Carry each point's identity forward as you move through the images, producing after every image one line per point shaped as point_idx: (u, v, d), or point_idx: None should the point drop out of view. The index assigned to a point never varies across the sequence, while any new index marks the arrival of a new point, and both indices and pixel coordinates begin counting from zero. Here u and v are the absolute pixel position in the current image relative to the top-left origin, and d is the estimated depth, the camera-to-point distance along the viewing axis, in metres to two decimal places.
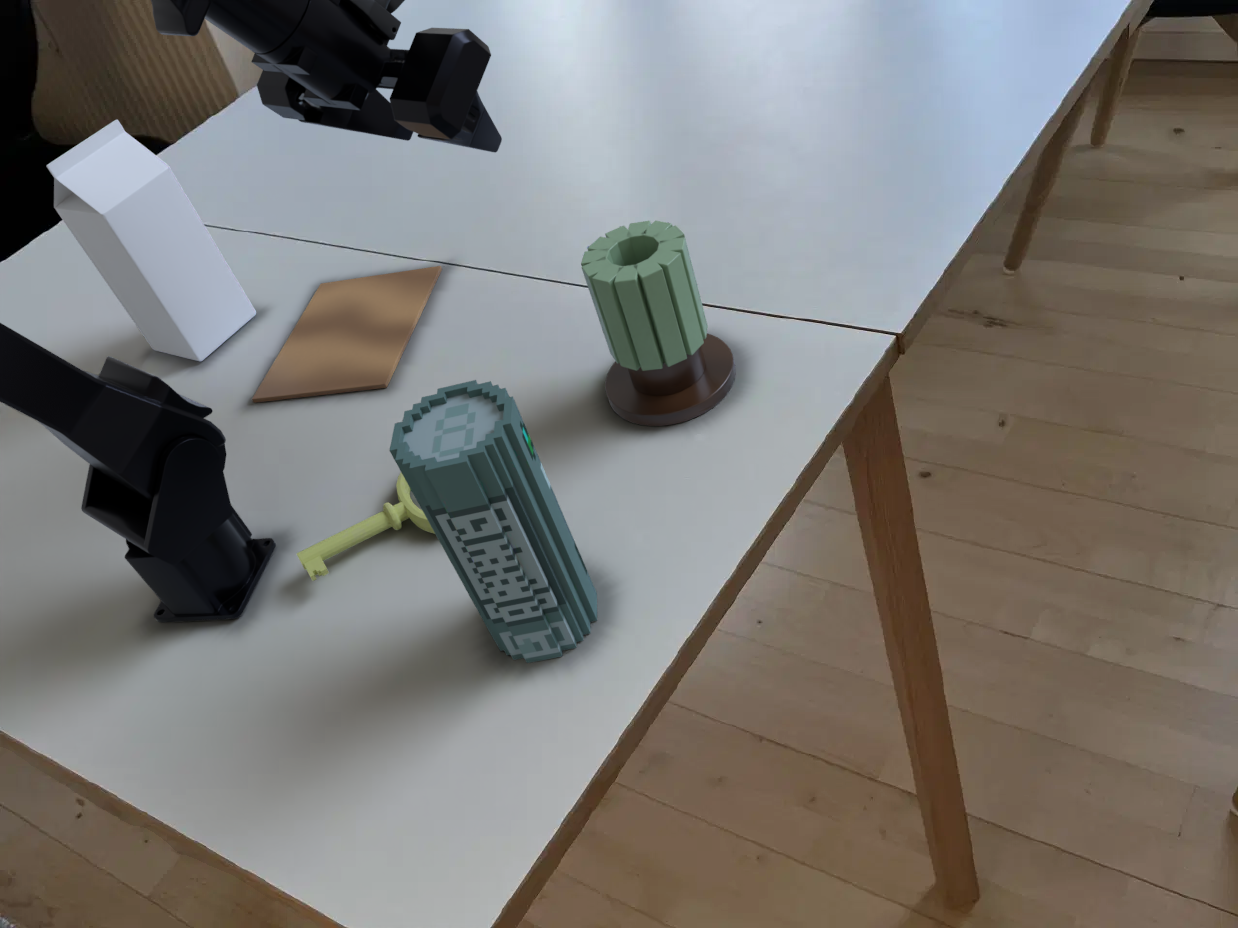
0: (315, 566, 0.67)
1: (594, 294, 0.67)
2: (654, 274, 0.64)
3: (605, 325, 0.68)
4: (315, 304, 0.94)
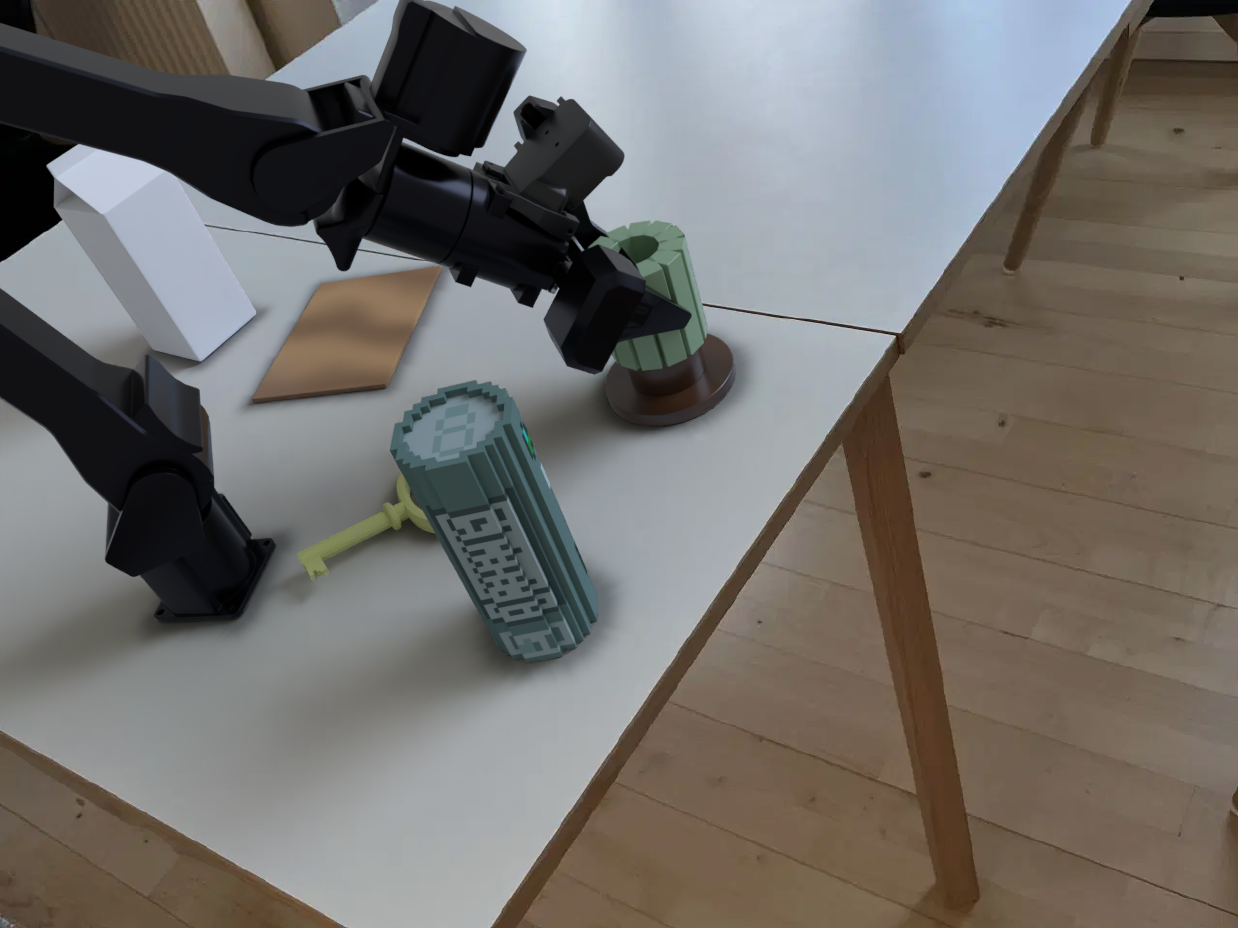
0: (315, 566, 0.67)
1: None
2: (654, 274, 0.64)
3: None
4: (315, 304, 0.94)
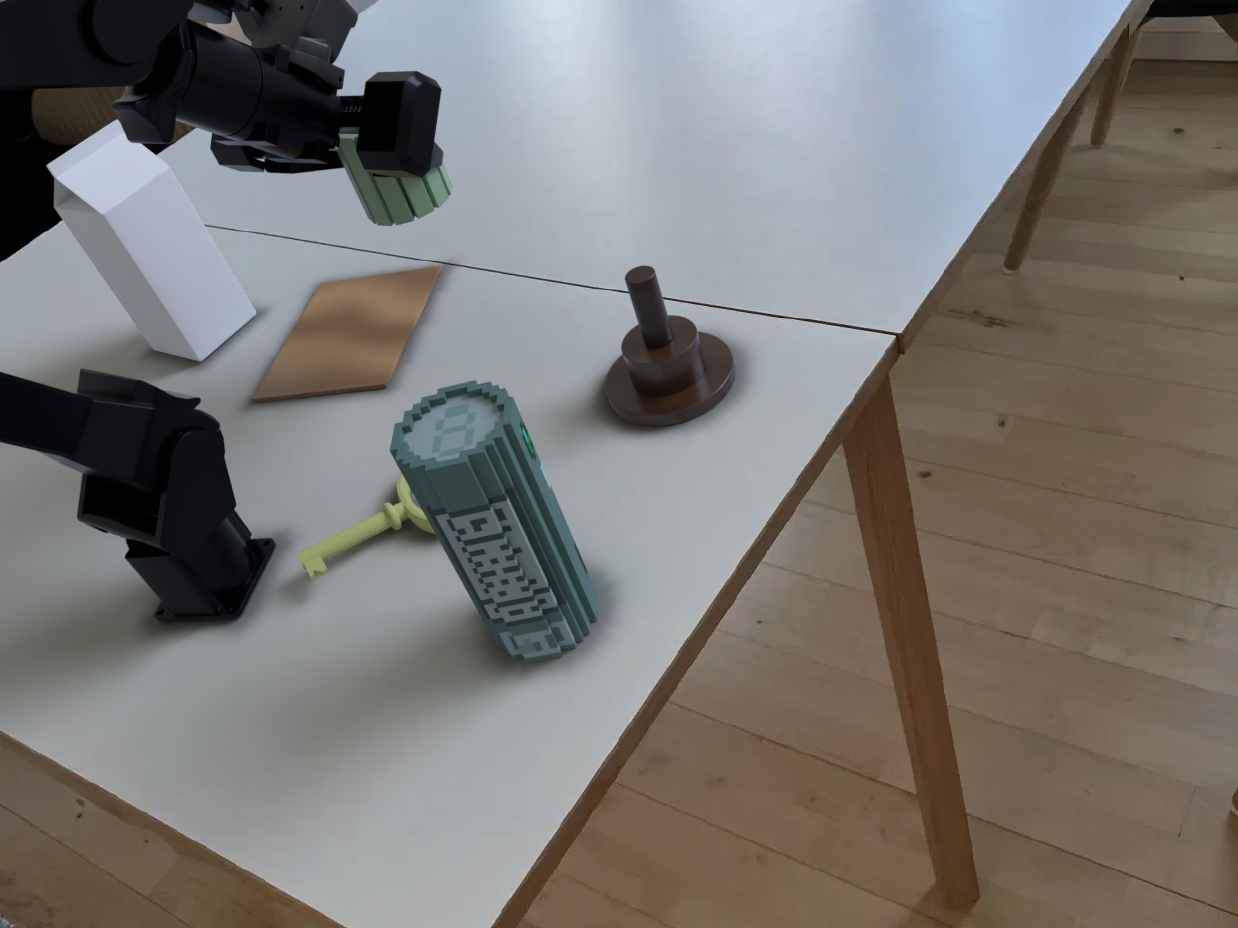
0: (315, 566, 0.67)
1: None
2: None
3: (374, 187, 0.76)
4: (315, 304, 0.94)
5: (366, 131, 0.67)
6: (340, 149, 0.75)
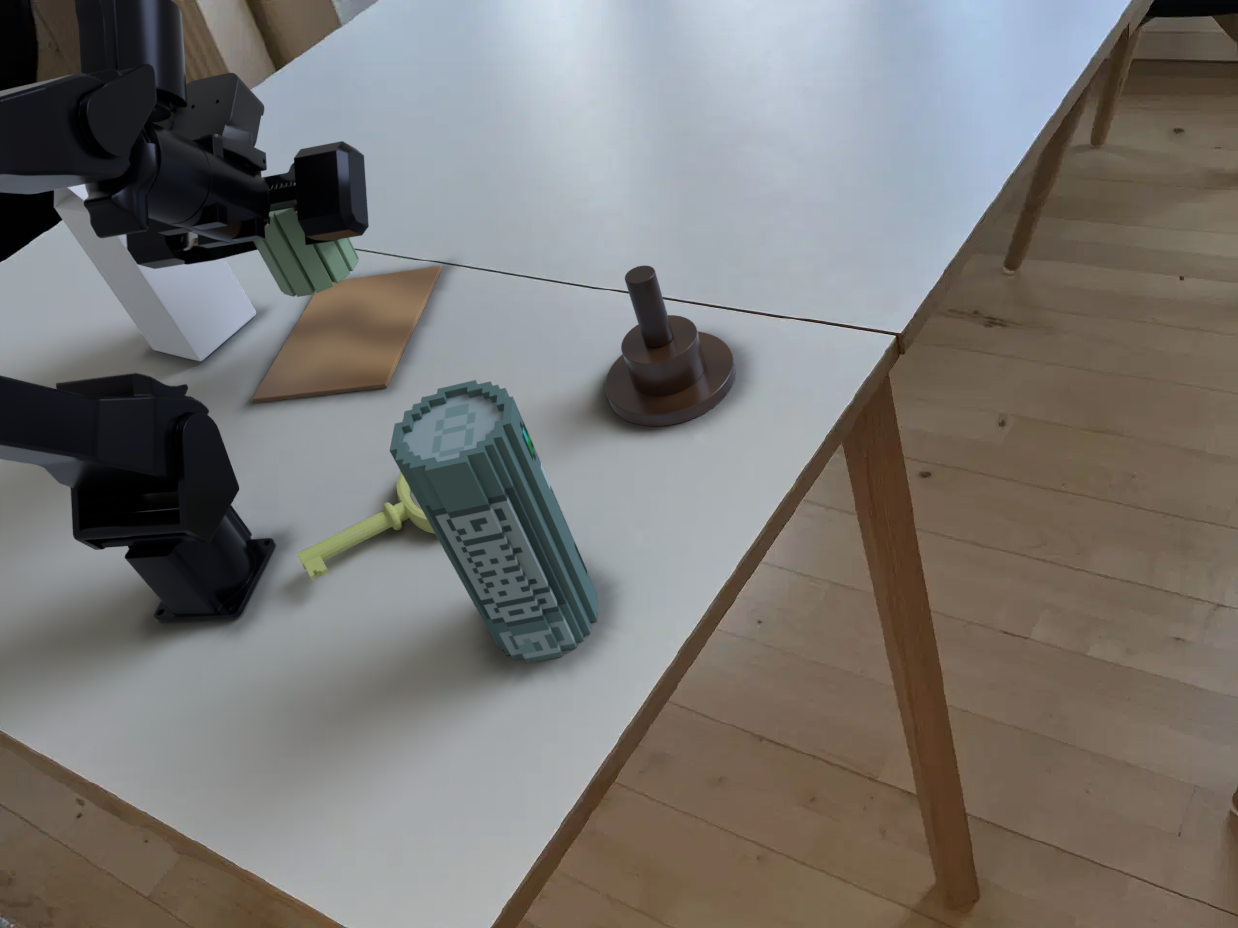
0: (315, 566, 0.67)
1: (278, 233, 0.79)
2: None
3: (294, 260, 0.81)
4: (315, 304, 0.94)
5: (305, 201, 0.73)
6: None
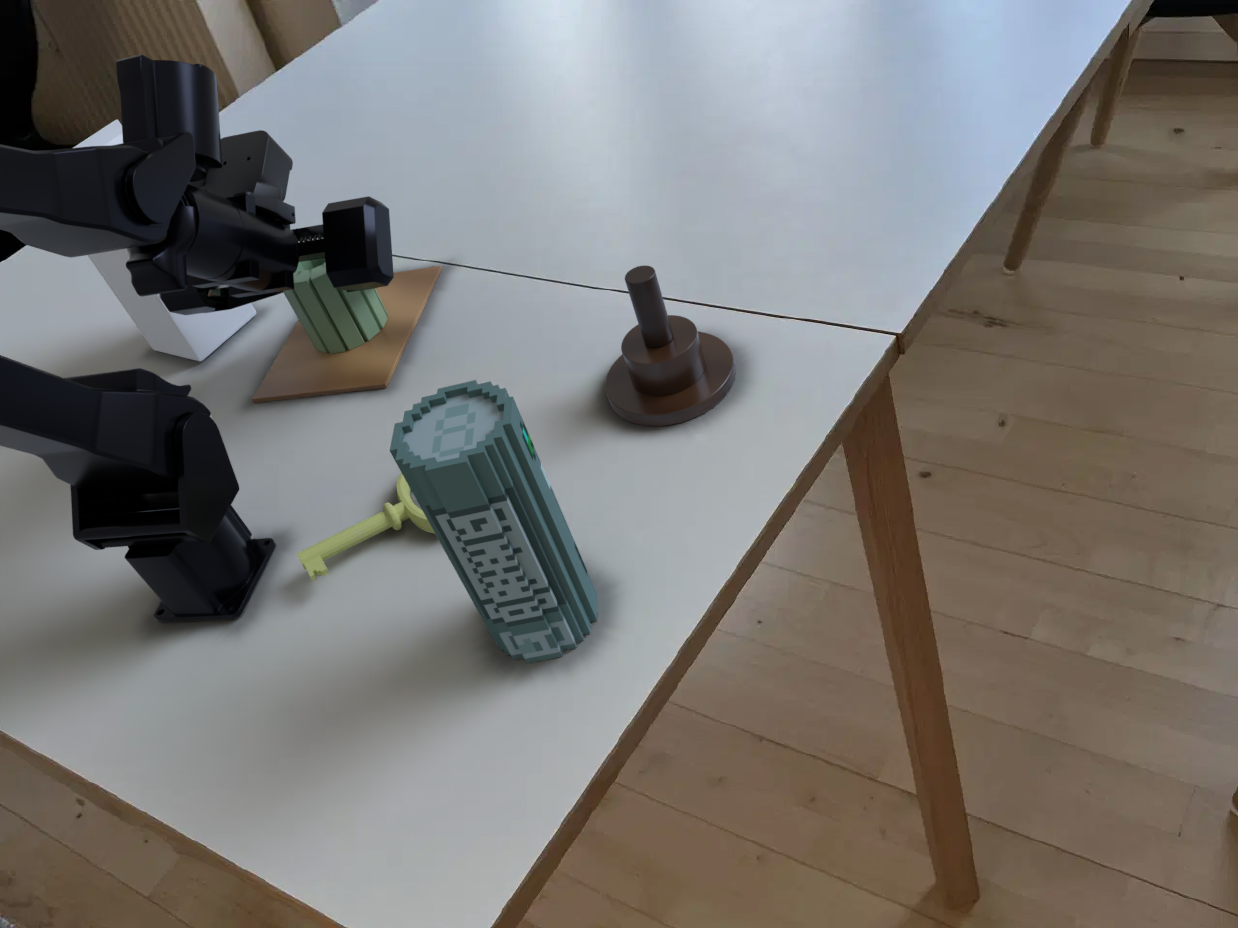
0: (315, 566, 0.67)
1: (313, 296, 0.83)
2: None
3: (328, 320, 0.85)
4: None
5: (333, 254, 0.76)
6: (293, 292, 0.84)
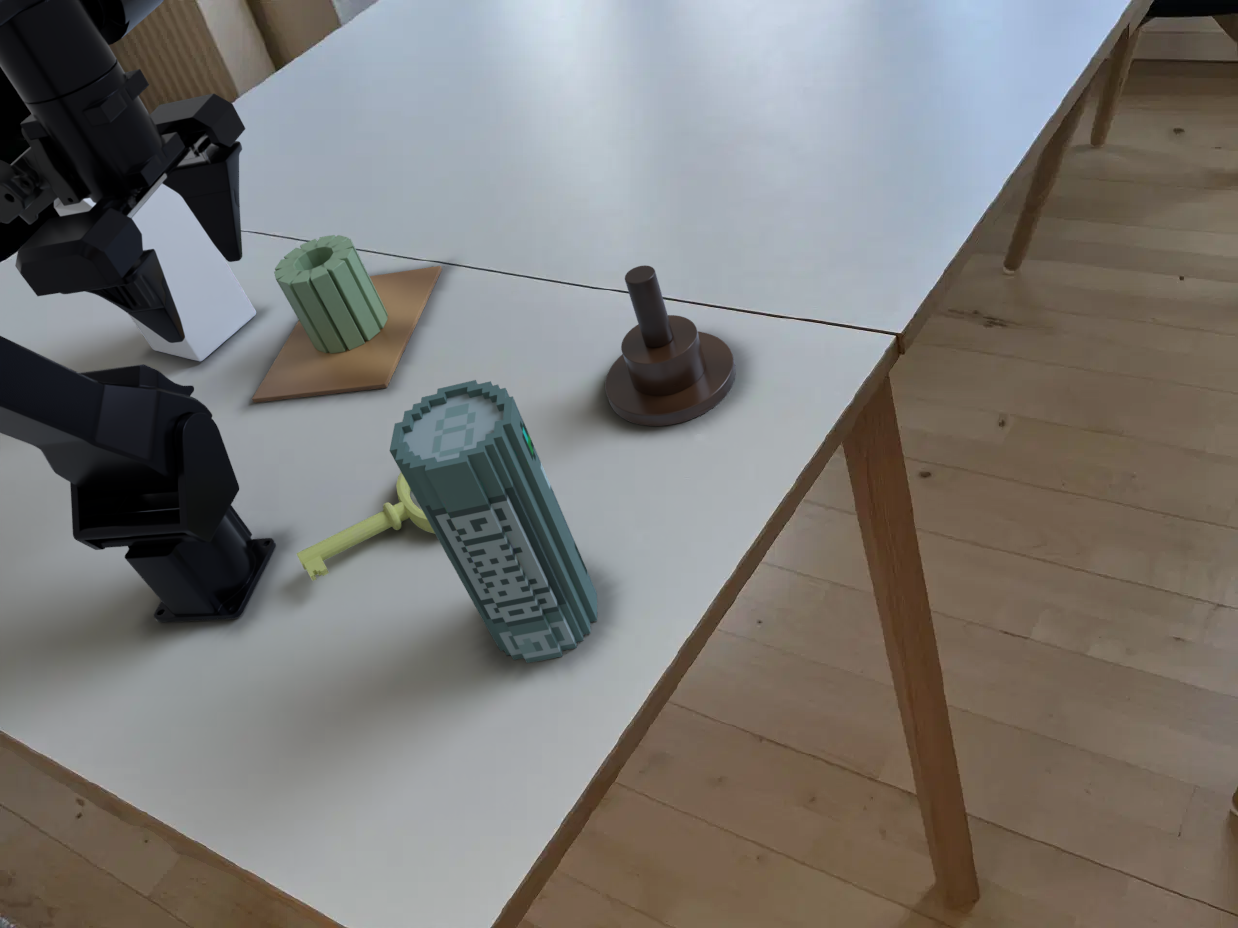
0: (315, 566, 0.67)
1: (313, 296, 0.83)
2: (351, 253, 0.84)
3: (328, 320, 0.85)
4: None
5: (180, 115, 0.69)
6: (293, 292, 0.84)
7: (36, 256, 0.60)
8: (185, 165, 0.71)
